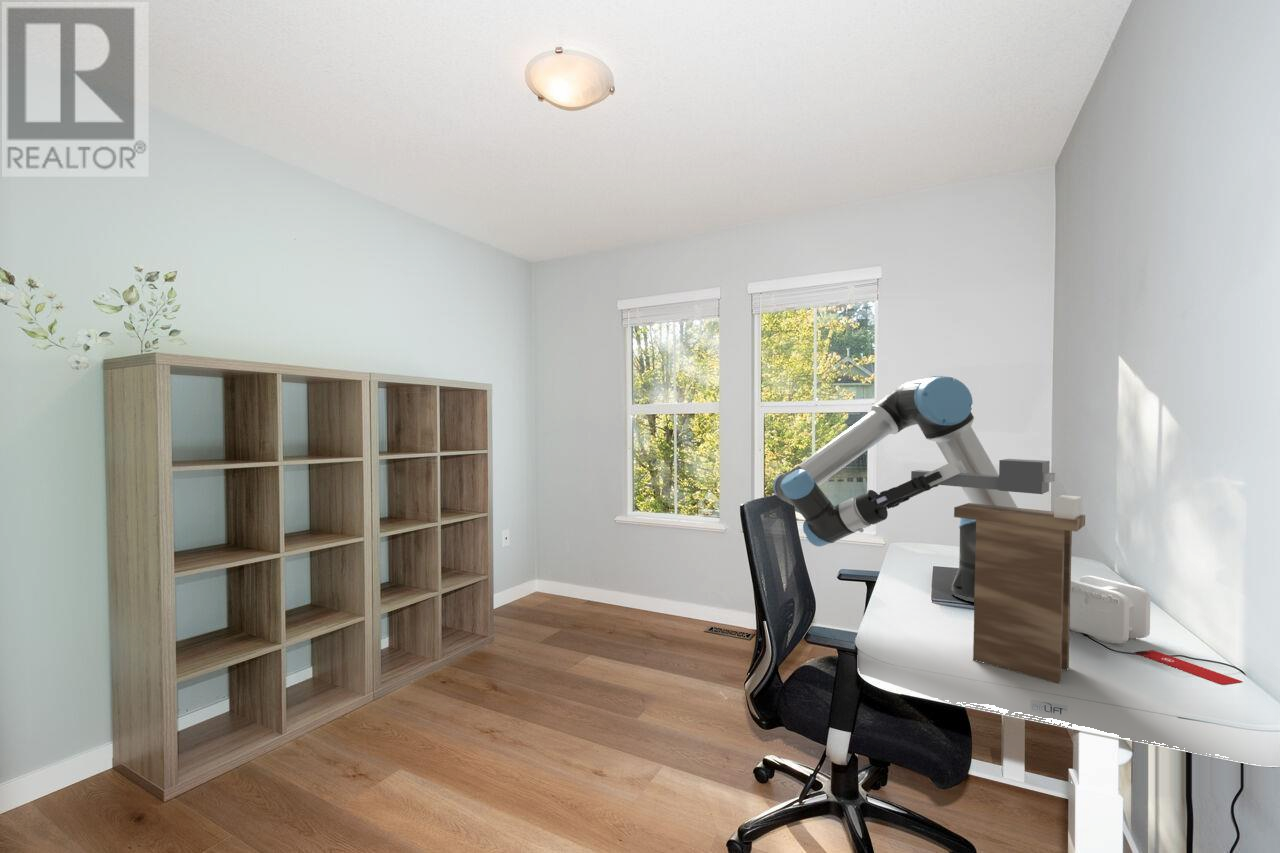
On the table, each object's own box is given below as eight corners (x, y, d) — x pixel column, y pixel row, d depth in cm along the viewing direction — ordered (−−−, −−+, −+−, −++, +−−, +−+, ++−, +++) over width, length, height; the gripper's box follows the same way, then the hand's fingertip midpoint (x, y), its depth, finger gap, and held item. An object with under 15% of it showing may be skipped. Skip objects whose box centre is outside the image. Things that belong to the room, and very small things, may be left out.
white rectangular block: (1060, 512, 111) (1061, 494, 111) (1081, 514, 109) (1081, 496, 109) (1053, 517, 105) (1053, 498, 105) (1074, 519, 103) (1074, 500, 103)
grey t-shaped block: (919, 480, 129) (920, 454, 129) (1056, 491, 111) (1057, 461, 111) (908, 483, 124) (909, 455, 124) (1049, 494, 106) (1050, 462, 106)
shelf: (965, 641, 123) (968, 502, 123) (1081, 670, 109) (1085, 514, 109) (951, 653, 116) (954, 507, 116) (1073, 687, 102) (1076, 520, 102)
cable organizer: (1155, 644, 124) (1156, 591, 123) (1121, 649, 120) (1122, 594, 120) (1082, 621, 138) (1083, 573, 138) (1050, 625, 135) (1051, 576, 134)
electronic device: (1243, 684, 106) (1153, 652, 120) (1244, 681, 106) (1153, 649, 120) (1221, 687, 104) (1132, 654, 119) (1221, 684, 104) (1132, 651, 119)
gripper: (886, 521, 139) (981, 480, 125) (855, 529, 127) (957, 485, 112) (871, 493, 142) (962, 450, 127) (840, 498, 129) (937, 451, 115)
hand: (959, 466), depth 120 cm, fingers closed on grey t-shaped block, 4 cm apart
